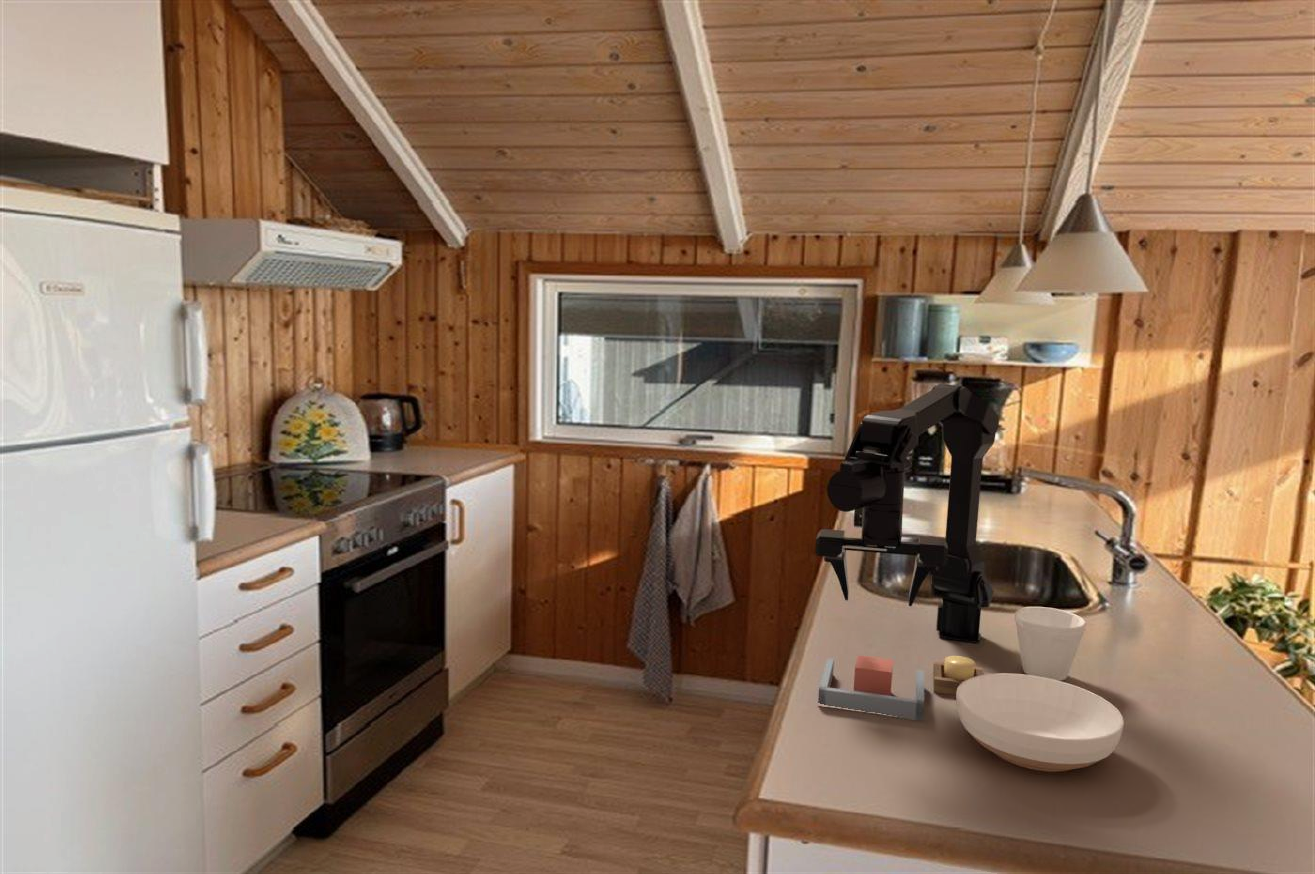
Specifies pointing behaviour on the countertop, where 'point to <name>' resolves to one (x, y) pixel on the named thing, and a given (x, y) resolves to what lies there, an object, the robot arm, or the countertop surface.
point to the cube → (873, 675)
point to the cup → (1048, 640)
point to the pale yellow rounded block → (959, 668)
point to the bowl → (1038, 721)
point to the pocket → (872, 698)
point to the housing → (948, 679)
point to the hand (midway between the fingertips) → (878, 602)
